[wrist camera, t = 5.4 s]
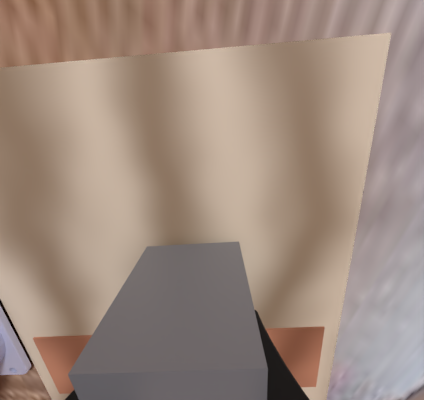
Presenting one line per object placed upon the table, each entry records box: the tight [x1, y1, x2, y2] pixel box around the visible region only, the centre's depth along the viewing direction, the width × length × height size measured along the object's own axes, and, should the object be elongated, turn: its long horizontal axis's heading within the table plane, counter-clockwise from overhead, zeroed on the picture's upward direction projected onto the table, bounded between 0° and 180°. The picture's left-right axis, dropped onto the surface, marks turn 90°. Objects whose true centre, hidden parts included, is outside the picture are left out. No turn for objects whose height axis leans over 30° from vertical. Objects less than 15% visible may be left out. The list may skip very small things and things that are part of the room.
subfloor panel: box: [0, 33, 391, 400], centre depth 12 cm, size 22×24×1 cm
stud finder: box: [68, 242, 268, 400], centre depth 9 cm, size 5×8×6 cm, turn 4°
